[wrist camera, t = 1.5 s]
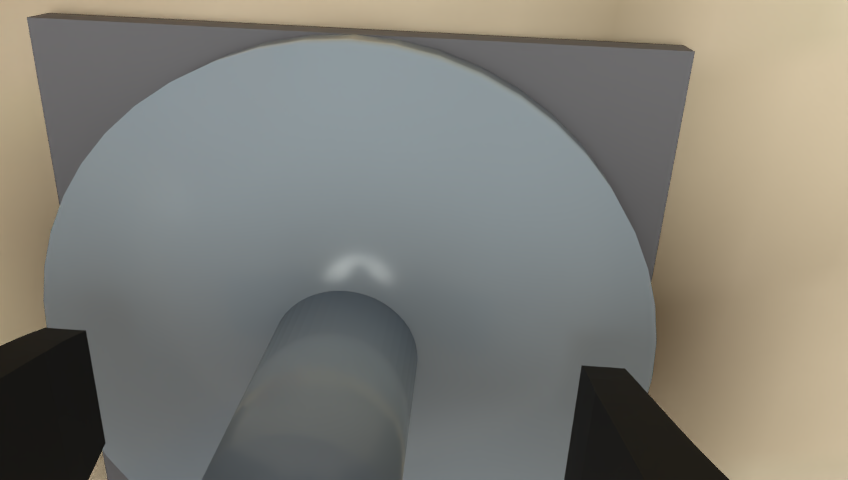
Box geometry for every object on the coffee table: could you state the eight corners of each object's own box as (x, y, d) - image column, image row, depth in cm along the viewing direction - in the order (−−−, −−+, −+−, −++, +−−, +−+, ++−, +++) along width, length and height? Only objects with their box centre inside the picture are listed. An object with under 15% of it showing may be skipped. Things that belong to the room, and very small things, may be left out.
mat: (594, 533, 15) (599, 556, 14) (127, 496, 15) (114, 518, 15) (683, 45, 11) (694, 51, 10) (48, 12, 11) (26, 17, 11)
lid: (598, 556, 14) (649, 805, 10) (114, 517, 15) (-23, 742, 11) (694, 52, 10) (838, 130, 6) (28, 16, 11) (-243, 69, 7)
